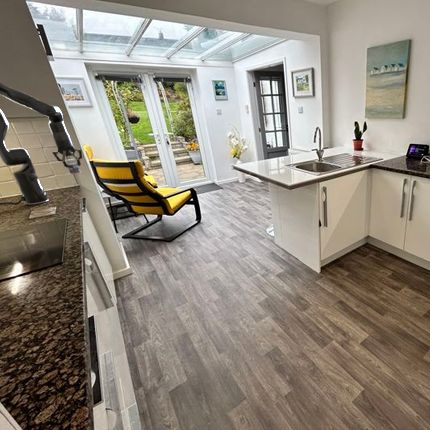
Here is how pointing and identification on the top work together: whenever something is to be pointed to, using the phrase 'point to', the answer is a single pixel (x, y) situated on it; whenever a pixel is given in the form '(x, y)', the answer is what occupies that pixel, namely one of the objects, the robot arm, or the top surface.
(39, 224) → the top surface
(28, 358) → the top surface
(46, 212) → the drawing board
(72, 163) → the pill bottle
